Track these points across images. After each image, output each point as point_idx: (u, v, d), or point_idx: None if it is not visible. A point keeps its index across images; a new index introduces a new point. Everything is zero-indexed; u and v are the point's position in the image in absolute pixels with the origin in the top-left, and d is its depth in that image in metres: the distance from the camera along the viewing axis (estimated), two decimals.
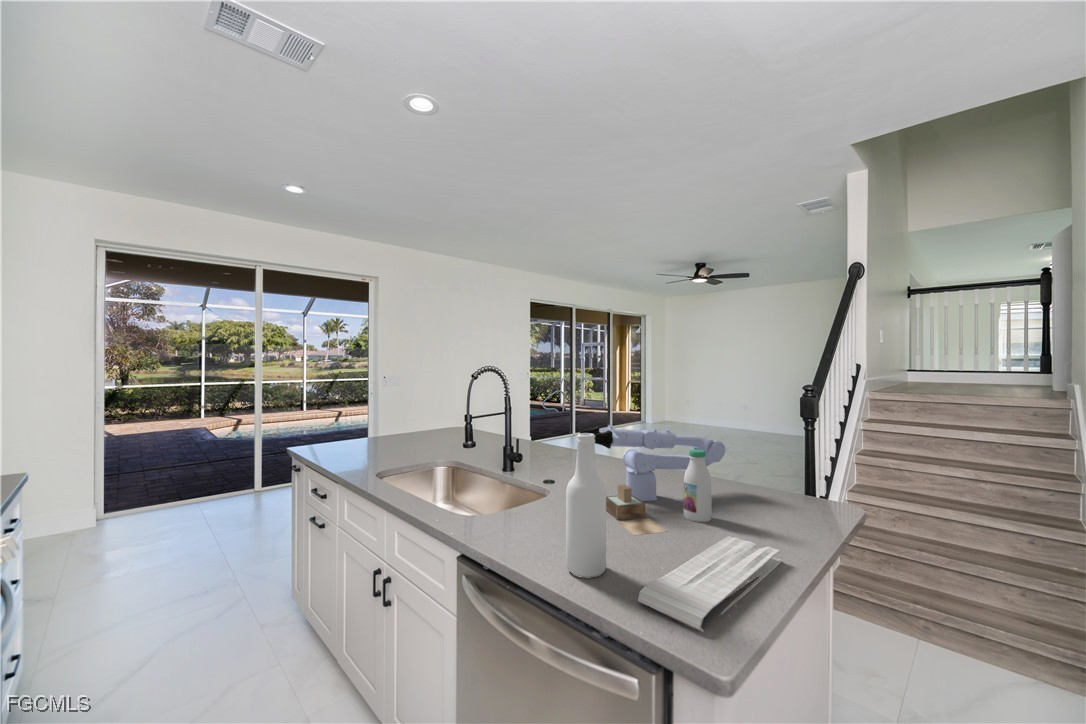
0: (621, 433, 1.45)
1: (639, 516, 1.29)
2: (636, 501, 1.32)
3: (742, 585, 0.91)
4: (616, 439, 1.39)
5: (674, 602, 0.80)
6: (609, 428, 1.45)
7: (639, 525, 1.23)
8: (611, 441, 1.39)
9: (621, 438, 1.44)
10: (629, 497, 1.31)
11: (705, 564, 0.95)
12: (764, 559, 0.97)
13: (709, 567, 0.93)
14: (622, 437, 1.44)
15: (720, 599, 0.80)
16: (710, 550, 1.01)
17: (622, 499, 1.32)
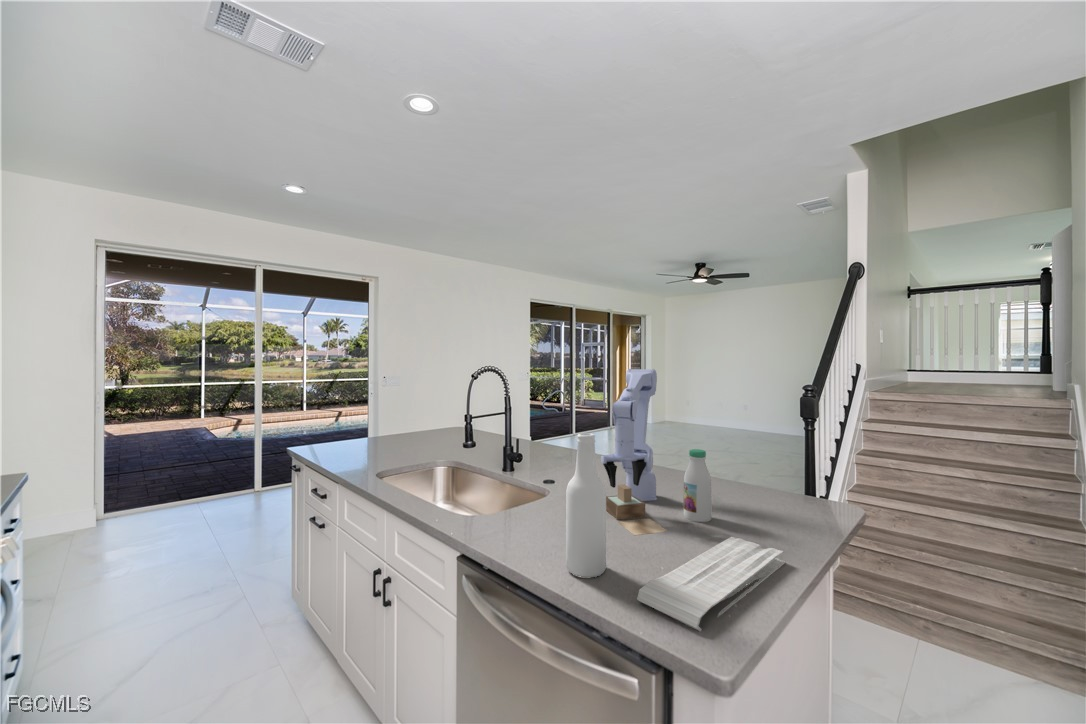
0: (633, 446, 1.32)
1: (639, 516, 1.29)
2: (636, 501, 1.32)
3: (743, 585, 0.91)
4: None
5: (673, 601, 0.80)
6: (630, 459, 1.30)
7: (639, 525, 1.23)
8: None
9: None
10: (629, 497, 1.31)
11: (706, 564, 0.95)
12: (766, 560, 0.96)
13: (710, 567, 0.93)
14: None
15: (719, 599, 0.80)
16: (712, 551, 1.01)
17: (622, 499, 1.32)
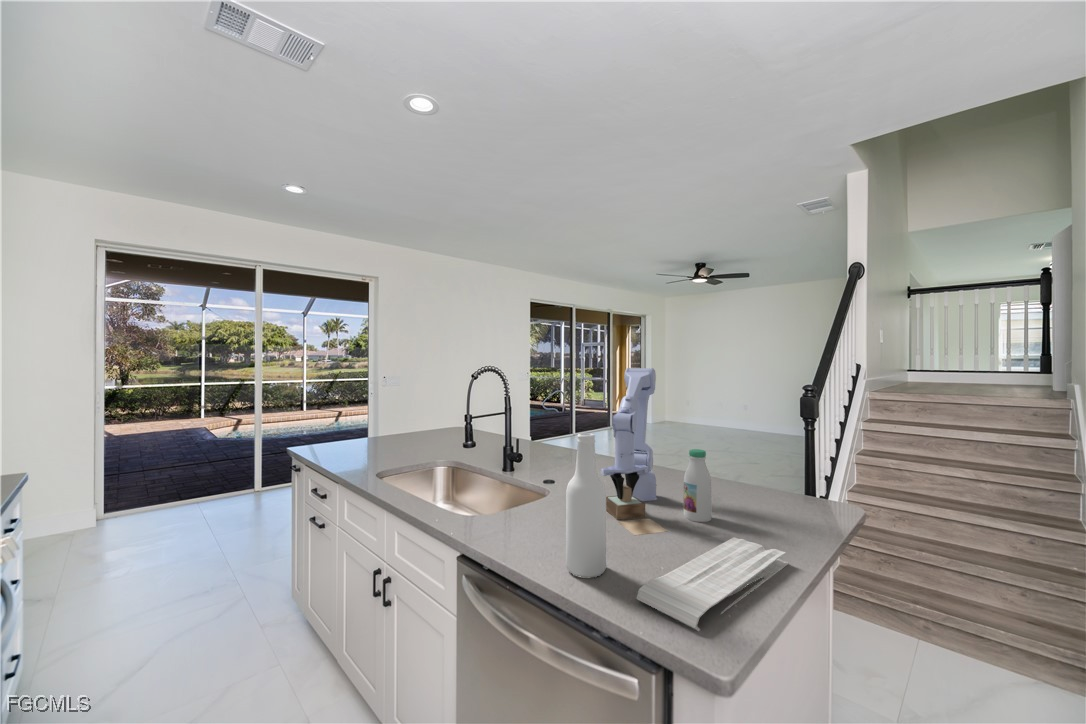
0: (633, 458, 1.32)
1: (639, 516, 1.29)
2: (636, 501, 1.32)
3: (744, 586, 0.90)
4: None
5: (672, 600, 0.80)
6: None
7: (639, 525, 1.23)
8: None
9: None
10: (629, 497, 1.31)
11: (707, 564, 0.94)
12: (768, 561, 0.96)
13: (711, 567, 0.93)
14: None
15: (719, 599, 0.80)
16: (714, 551, 1.01)
17: (622, 499, 1.32)
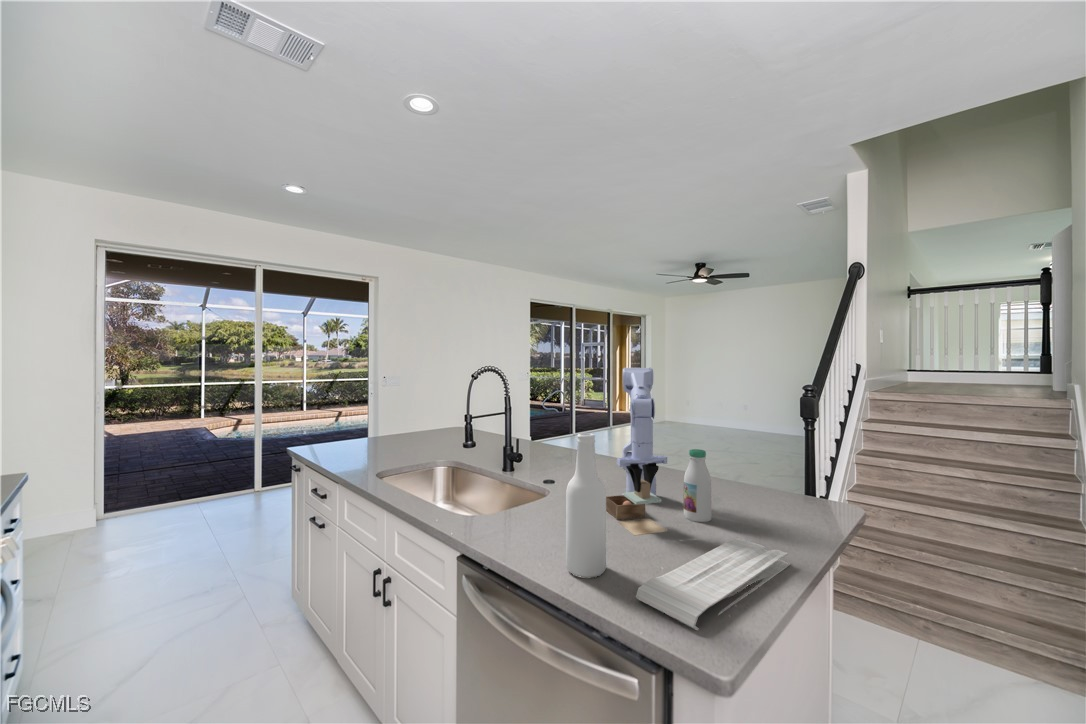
0: (652, 447, 1.21)
1: (639, 516, 1.29)
2: (655, 497, 1.21)
3: (745, 586, 0.90)
4: None
5: (671, 600, 0.80)
6: None
7: (639, 525, 1.23)
8: None
9: None
10: (648, 493, 1.21)
11: (708, 564, 0.94)
12: (770, 562, 0.95)
13: (711, 567, 0.93)
14: None
15: (718, 599, 0.80)
16: (715, 551, 1.01)
17: (640, 495, 1.21)
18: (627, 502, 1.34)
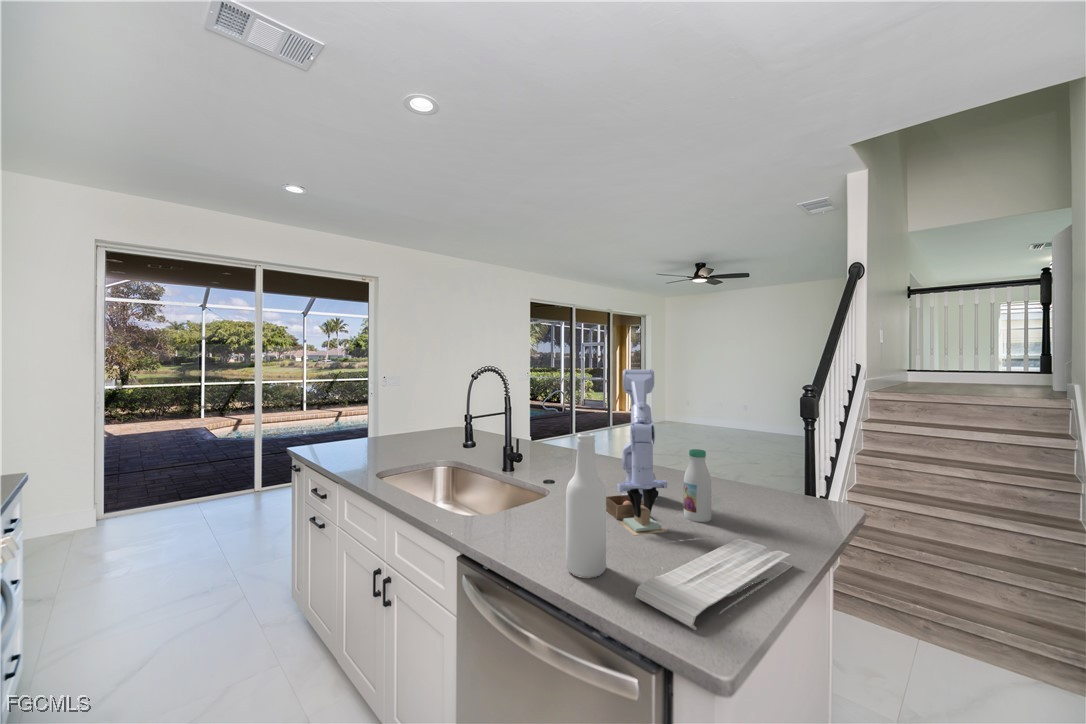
0: (652, 473, 1.21)
1: None
2: (655, 524, 1.21)
3: None
4: None
5: (670, 599, 0.81)
6: None
7: None
8: None
9: None
10: (648, 520, 1.21)
11: (709, 564, 0.94)
12: (772, 563, 0.95)
13: (712, 568, 0.93)
14: None
15: (717, 599, 0.81)
16: (717, 551, 1.01)
17: (640, 521, 1.21)
18: (627, 502, 1.34)
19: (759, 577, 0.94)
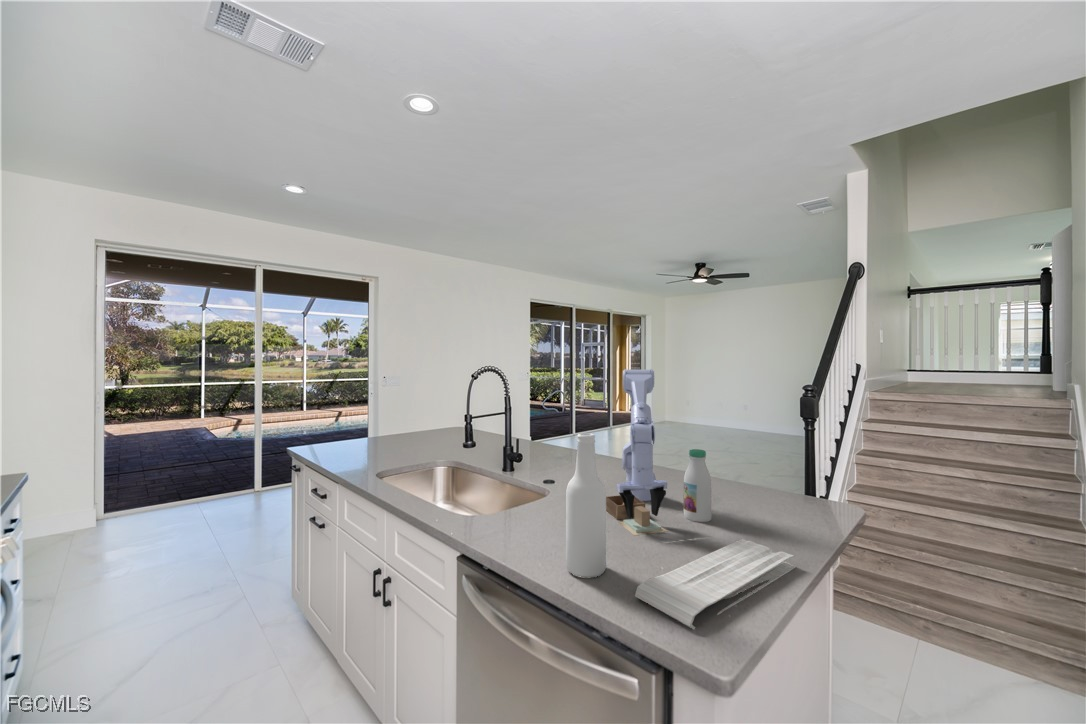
0: (652, 473, 1.21)
1: None
2: (655, 525, 1.21)
3: (747, 588, 0.90)
4: None
5: (669, 598, 0.81)
6: None
7: None
8: None
9: None
10: (648, 521, 1.21)
11: (710, 565, 0.94)
12: (774, 564, 0.95)
13: (713, 568, 0.92)
14: None
15: (716, 599, 0.80)
16: (719, 552, 1.00)
17: (639, 523, 1.21)
18: None
19: (761, 578, 0.94)
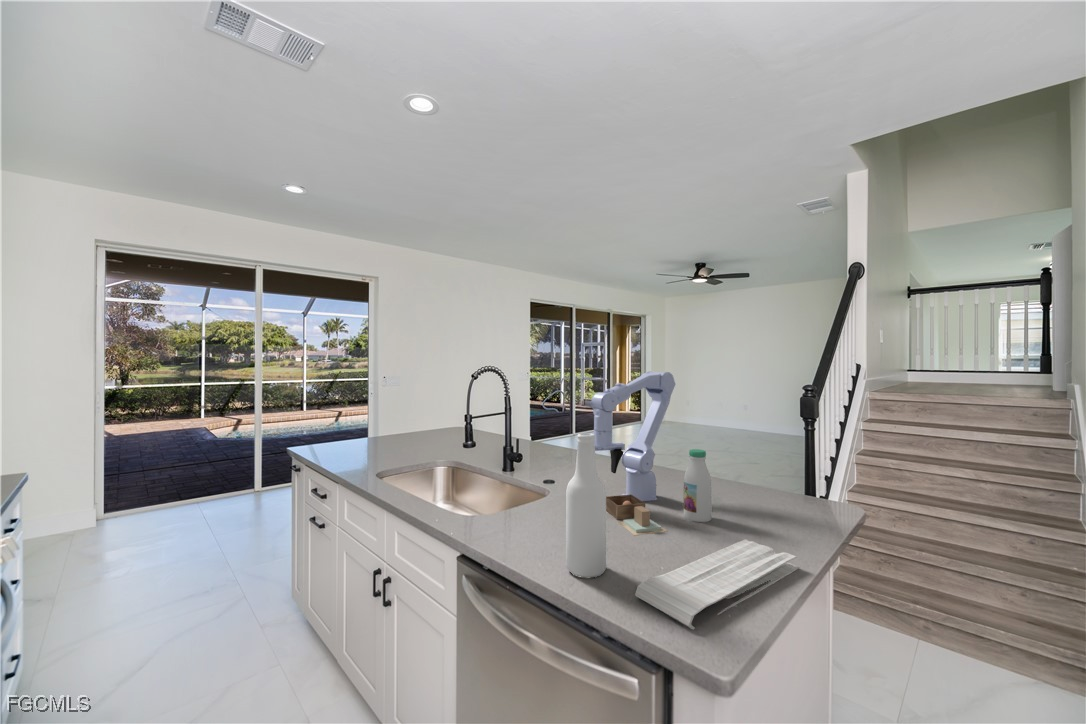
0: (611, 435, 1.40)
1: None
2: (655, 525, 1.21)
3: (748, 588, 0.90)
4: None
5: (669, 598, 0.81)
6: None
7: None
8: None
9: None
10: (648, 521, 1.21)
11: (712, 565, 0.94)
12: (776, 564, 0.94)
13: (715, 568, 0.92)
14: None
15: (716, 599, 0.80)
16: (721, 552, 1.00)
17: (639, 523, 1.21)
18: (627, 502, 1.34)
19: (763, 579, 0.93)
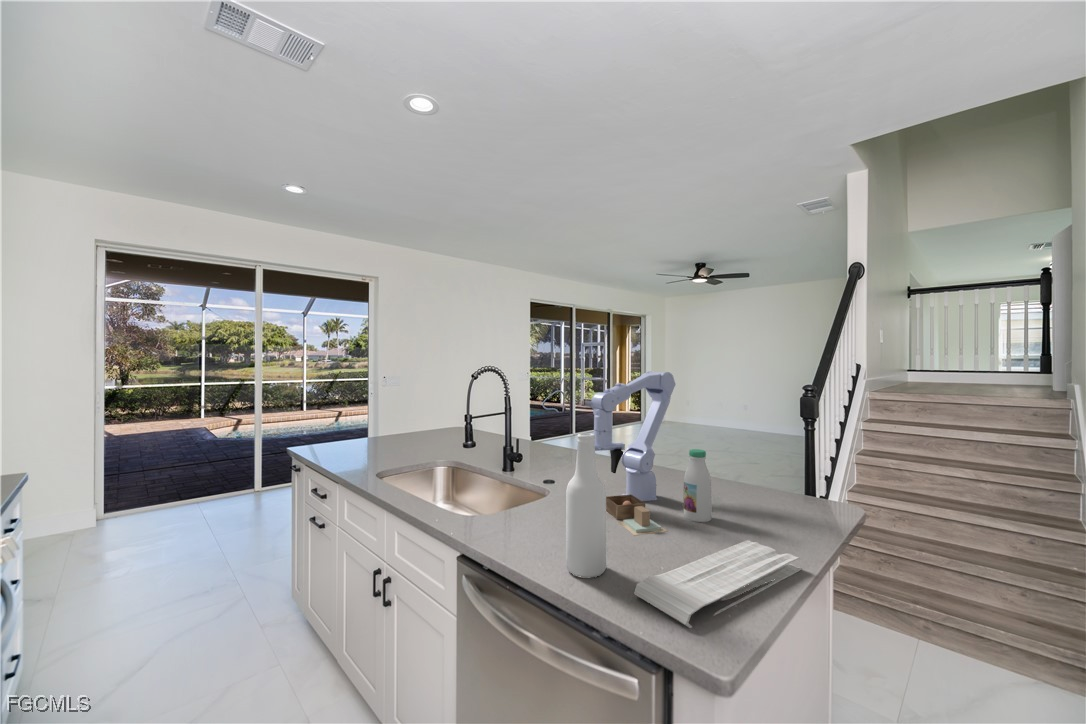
0: (611, 435, 1.40)
1: None
2: (655, 525, 1.21)
3: None
4: None
5: (667, 597, 0.81)
6: None
7: None
8: None
9: None
10: (648, 521, 1.21)
11: (712, 565, 0.94)
12: (777, 565, 0.94)
13: (715, 568, 0.92)
14: None
15: (715, 598, 0.81)
16: (723, 552, 1.00)
17: (639, 523, 1.21)
18: (627, 502, 1.34)
19: (764, 579, 0.93)
